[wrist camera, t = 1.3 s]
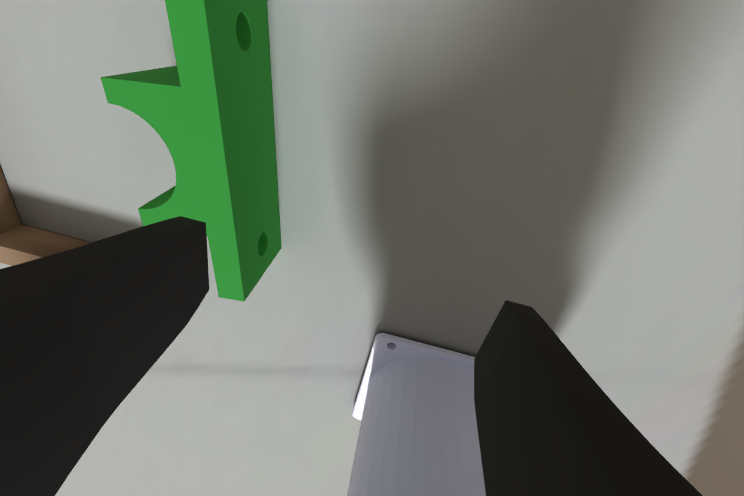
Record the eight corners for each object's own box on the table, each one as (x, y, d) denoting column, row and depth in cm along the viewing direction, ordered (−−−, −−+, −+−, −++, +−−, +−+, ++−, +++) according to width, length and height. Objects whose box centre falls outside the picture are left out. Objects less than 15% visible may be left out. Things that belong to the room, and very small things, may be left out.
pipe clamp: (171, -26, 13) (63, -50, 10) (268, -17, 13) (199, -38, 9) (214, 237, 19) (158, 289, 15) (282, 247, 19) (243, 303, 15)
